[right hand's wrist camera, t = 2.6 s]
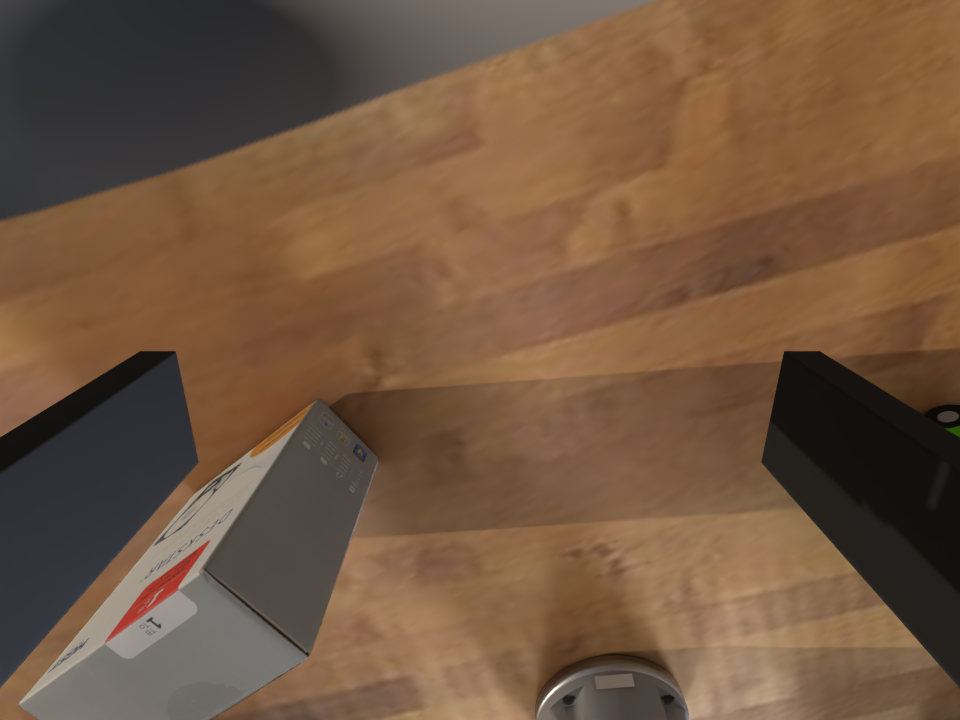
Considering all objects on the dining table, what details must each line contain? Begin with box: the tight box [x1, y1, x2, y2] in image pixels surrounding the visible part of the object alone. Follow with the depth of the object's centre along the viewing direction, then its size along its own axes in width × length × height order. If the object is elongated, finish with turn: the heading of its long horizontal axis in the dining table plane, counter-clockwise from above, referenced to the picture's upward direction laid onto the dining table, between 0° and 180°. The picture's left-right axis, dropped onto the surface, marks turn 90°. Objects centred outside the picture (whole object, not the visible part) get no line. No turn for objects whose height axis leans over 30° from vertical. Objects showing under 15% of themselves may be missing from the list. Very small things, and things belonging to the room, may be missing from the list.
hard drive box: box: [19, 399, 379, 720], centre depth 39 cm, size 16×8×20 cm, turn 128°
